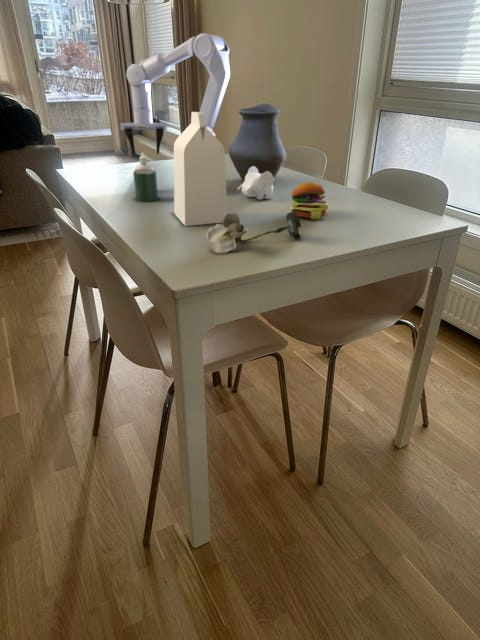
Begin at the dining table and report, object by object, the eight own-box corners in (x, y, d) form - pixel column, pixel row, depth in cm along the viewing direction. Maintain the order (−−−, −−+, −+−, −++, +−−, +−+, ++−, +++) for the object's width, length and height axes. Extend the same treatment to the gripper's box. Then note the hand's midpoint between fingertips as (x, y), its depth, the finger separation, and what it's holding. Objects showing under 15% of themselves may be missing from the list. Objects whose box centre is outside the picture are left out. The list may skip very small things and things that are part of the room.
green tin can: (161, 198, 140) (160, 170, 136) (149, 202, 135) (147, 174, 131) (144, 195, 143) (142, 168, 139) (131, 200, 138) (128, 171, 134)
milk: (174, 213, 126) (168, 111, 114) (213, 210, 130) (212, 110, 117) (185, 226, 116) (180, 115, 104) (227, 222, 120) (227, 114, 107)
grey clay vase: (219, 184, 158) (219, 105, 146) (239, 172, 176) (240, 101, 164) (277, 189, 153) (281, 108, 141) (291, 176, 171) (296, 103, 159)
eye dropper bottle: (149, 194, 144) (145, 154, 139) (134, 191, 147) (131, 152, 141) (157, 191, 148) (154, 152, 142) (143, 189, 150) (139, 150, 144)
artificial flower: (306, 248, 107) (310, 212, 100) (214, 269, 102) (212, 232, 95) (291, 228, 113) (294, 192, 106) (204, 246, 108) (201, 210, 101)
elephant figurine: (232, 196, 144) (233, 167, 139) (265, 192, 149) (266, 164, 144) (247, 203, 136) (248, 173, 132) (281, 199, 142) (282, 170, 137)
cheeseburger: (299, 221, 121) (298, 182, 118) (285, 219, 131) (283, 183, 128) (333, 218, 123) (333, 180, 121) (317, 217, 133) (316, 181, 131)
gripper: (165, 107, 148) (167, 151, 154) (119, 107, 145) (123, 151, 152) (166, 109, 142) (168, 154, 148) (118, 108, 139) (123, 155, 146)
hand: (146, 153), depth 150 cm, fingers open, 7 cm apart
